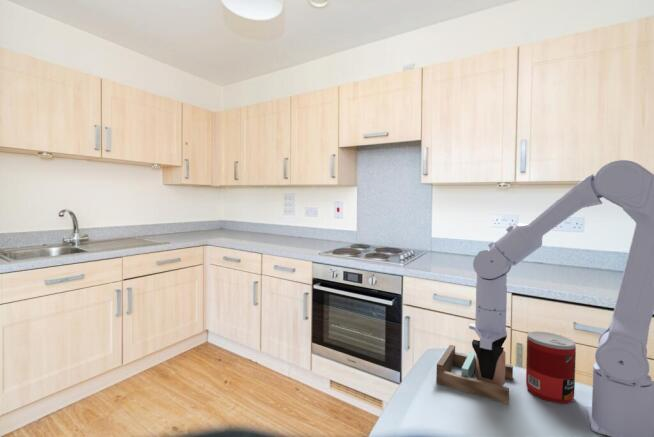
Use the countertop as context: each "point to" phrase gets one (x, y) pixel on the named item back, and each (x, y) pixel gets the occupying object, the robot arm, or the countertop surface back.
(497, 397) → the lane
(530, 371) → the canned food
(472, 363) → the plate
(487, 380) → the tan rounded cylinder
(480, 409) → the countertop surface
